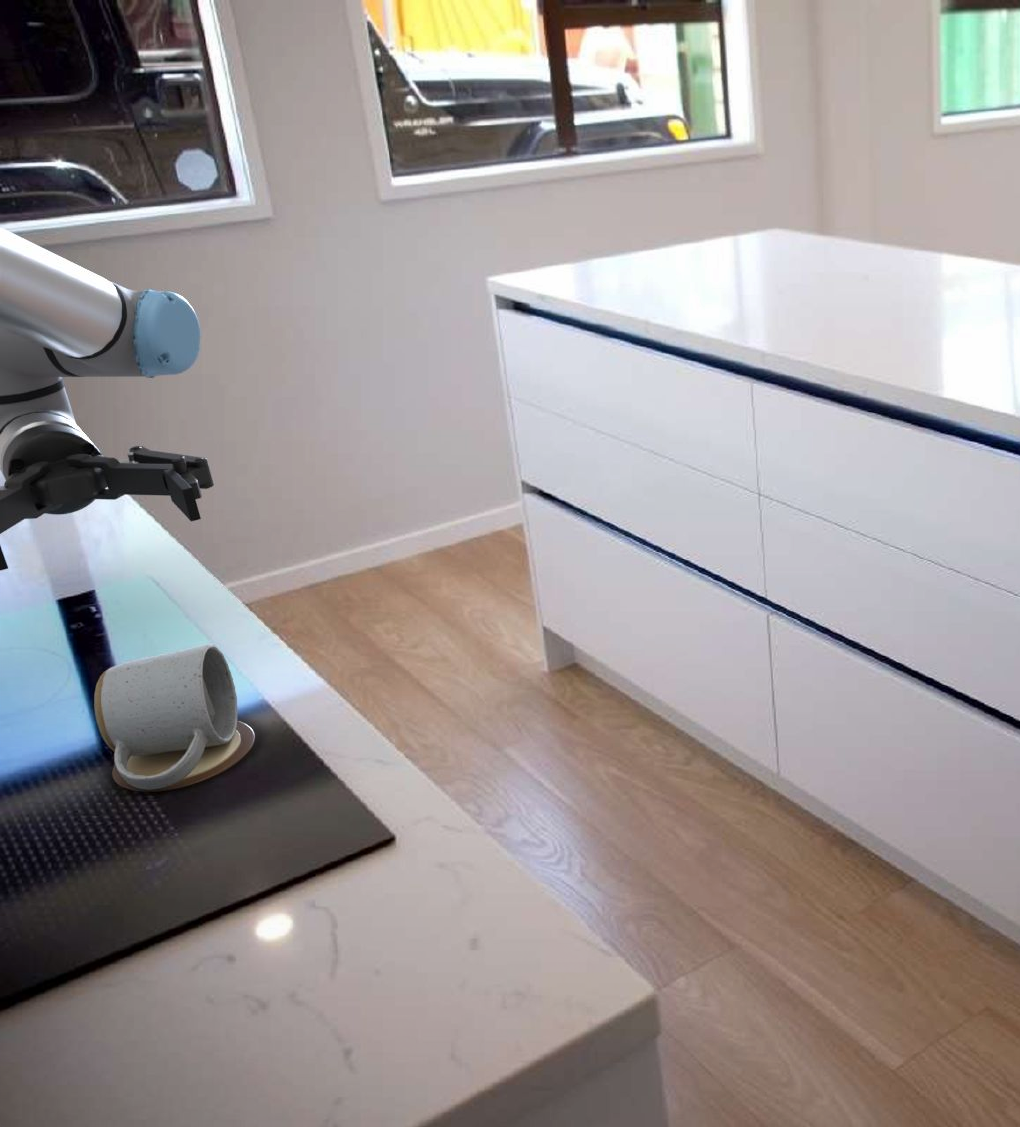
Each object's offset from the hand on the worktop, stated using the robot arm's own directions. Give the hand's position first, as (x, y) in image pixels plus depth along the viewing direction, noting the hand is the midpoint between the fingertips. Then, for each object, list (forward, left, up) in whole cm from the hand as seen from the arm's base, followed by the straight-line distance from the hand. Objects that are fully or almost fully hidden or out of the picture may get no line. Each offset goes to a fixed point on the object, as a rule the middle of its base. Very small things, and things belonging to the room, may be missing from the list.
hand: (98, 528), depth 99 cm
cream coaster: (+6, -7, -17) cm, 19 cm away
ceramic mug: (+6, -8, -16) cm, 19 cm away
